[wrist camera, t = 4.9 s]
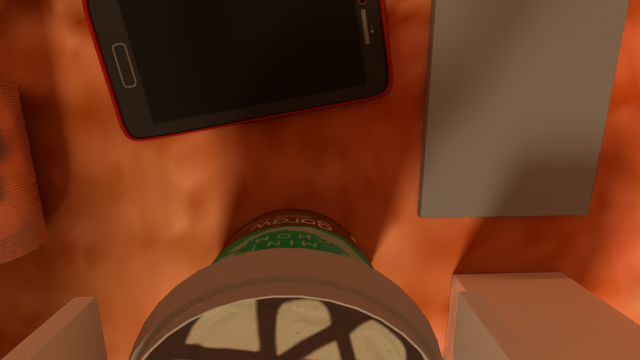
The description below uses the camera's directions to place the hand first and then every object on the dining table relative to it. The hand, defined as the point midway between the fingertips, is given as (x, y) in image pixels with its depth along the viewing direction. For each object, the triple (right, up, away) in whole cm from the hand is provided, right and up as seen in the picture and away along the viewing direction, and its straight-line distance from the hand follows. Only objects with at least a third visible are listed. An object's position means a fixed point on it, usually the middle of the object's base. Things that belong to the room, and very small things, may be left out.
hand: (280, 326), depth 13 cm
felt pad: (+12, +11, +6) cm, 17 cm away
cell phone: (-2, +13, +6) cm, 14 cm away
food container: (-1, +2, +8) cm, 8 cm away
